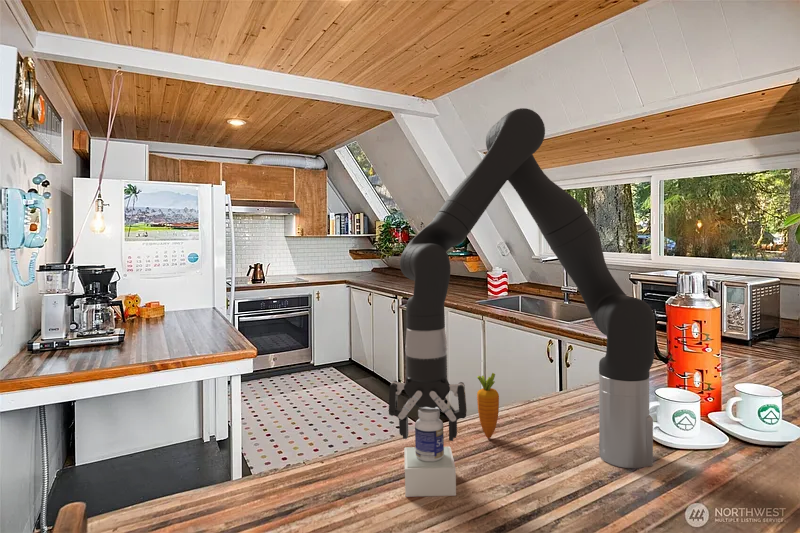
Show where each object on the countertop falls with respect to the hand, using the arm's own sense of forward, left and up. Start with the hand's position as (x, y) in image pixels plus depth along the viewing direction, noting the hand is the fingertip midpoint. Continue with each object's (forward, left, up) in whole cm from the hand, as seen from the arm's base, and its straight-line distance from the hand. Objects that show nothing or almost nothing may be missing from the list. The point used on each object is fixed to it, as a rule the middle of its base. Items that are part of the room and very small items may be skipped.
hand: (428, 438), depth 90 cm
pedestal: (0, 0, -9) cm, 9 cm away
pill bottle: (0, 0, -4) cm, 4 cm away
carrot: (-11, -22, -9) cm, 26 cm away
